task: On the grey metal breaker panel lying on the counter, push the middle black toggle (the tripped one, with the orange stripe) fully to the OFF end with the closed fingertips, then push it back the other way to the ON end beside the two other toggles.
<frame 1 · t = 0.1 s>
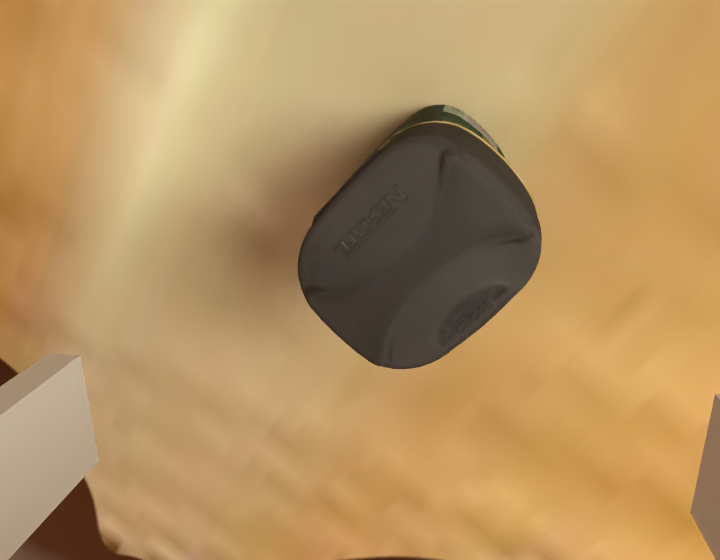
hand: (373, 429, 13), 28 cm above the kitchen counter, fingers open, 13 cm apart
coffee jar: (430, 181, 39), on the kitchen counter
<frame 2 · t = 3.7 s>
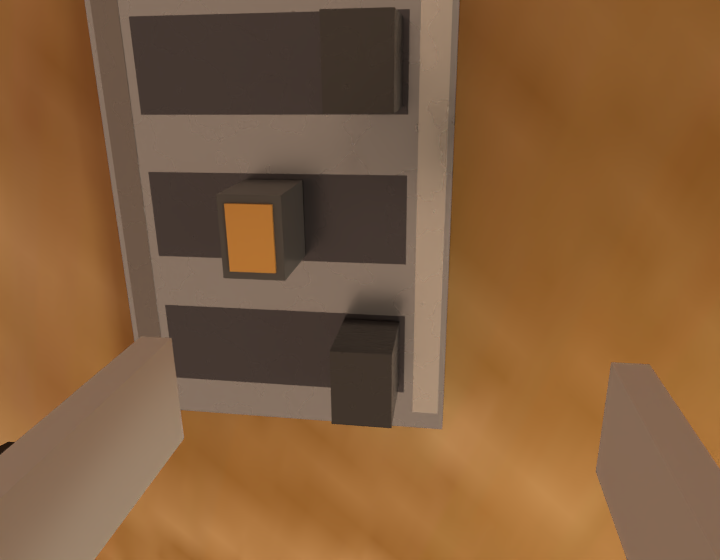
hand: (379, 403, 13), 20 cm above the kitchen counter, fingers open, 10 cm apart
tripped breaker: (263, 227, 29), point 4 cm above the kitchen counter, slide at 0.0 cm
breaker panel: (286, 209, 33), on the kitchen counter
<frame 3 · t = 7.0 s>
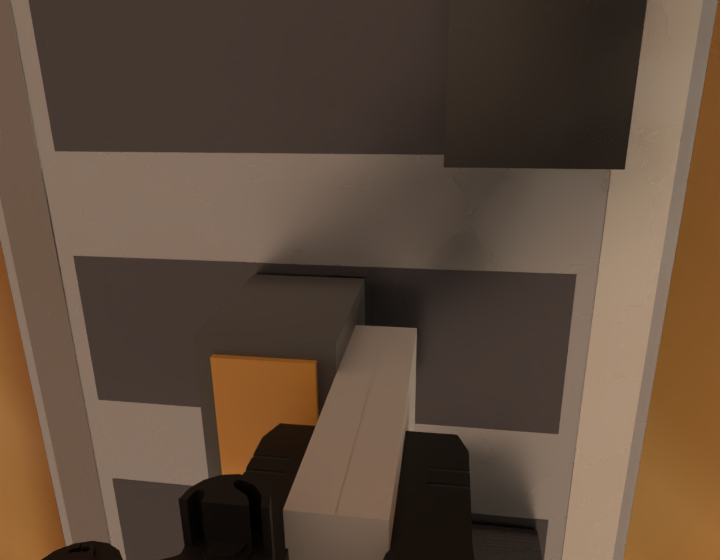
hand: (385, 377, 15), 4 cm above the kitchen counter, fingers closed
tripped breaker: (292, 381, 14), point 4 cm above the kitchen counter, slide at 0.0 cm, touching gripper
breaker panel: (326, 316, 18), on the kitchen counter
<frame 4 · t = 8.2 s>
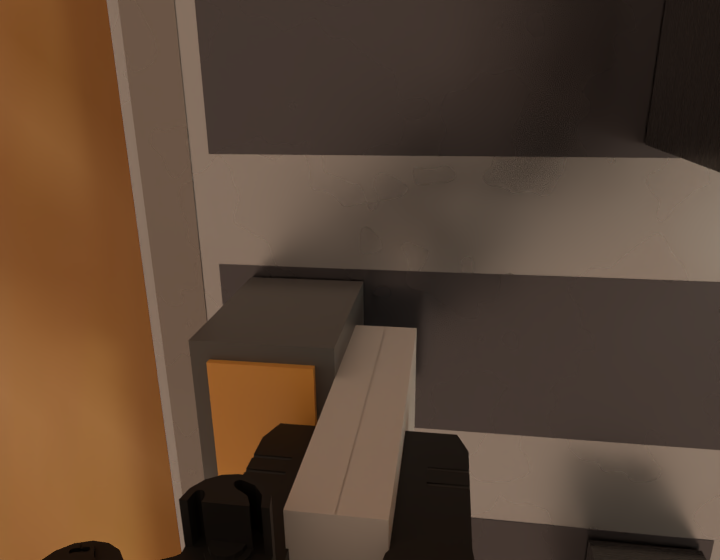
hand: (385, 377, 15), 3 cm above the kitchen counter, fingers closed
tripped breaker: (289, 386, 14), point 4 cm above the kitchen counter, slide at -4.4 cm, touching gripper
breaker panel: (471, 326, 18), on the kitchen counter
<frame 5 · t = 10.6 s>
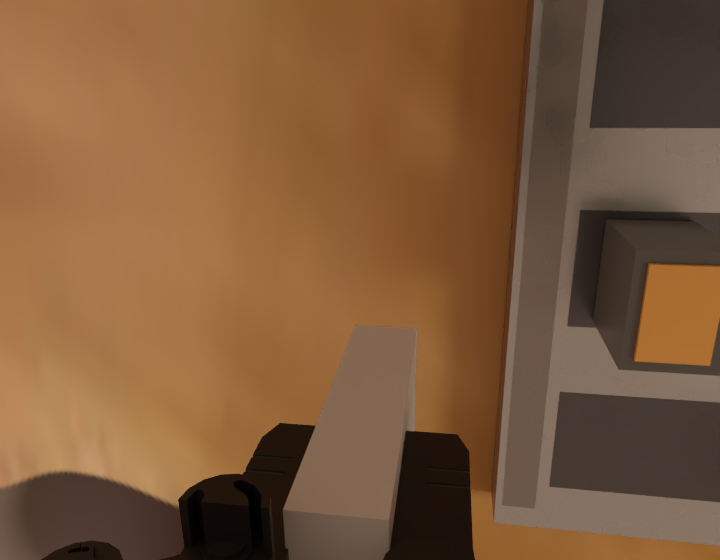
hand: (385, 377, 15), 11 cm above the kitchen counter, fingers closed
tripped breaker: (659, 292, 20), point 4 cm above the kitchen counter, slide at -4.4 cm
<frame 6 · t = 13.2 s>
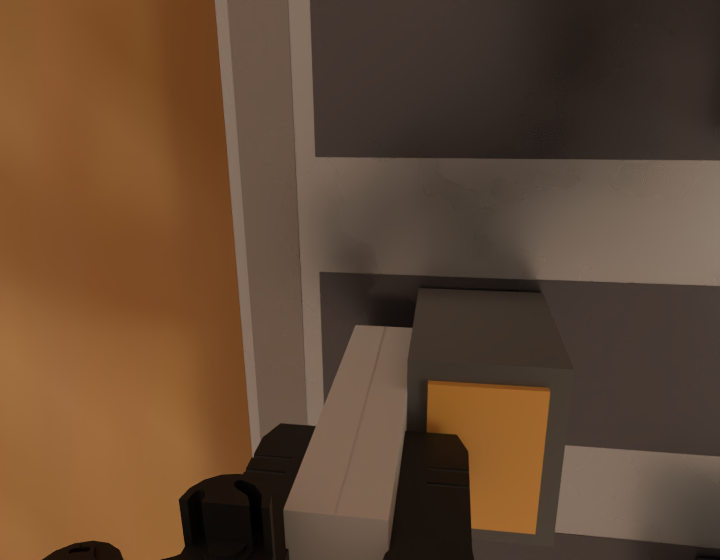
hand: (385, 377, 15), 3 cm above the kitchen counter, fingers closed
tripped breaker: (478, 405, 13), point 4 cm above the kitchen counter, slide at -2.7 cm, touching gripper
breaker panel: (571, 335, 17), on the kitchen counter
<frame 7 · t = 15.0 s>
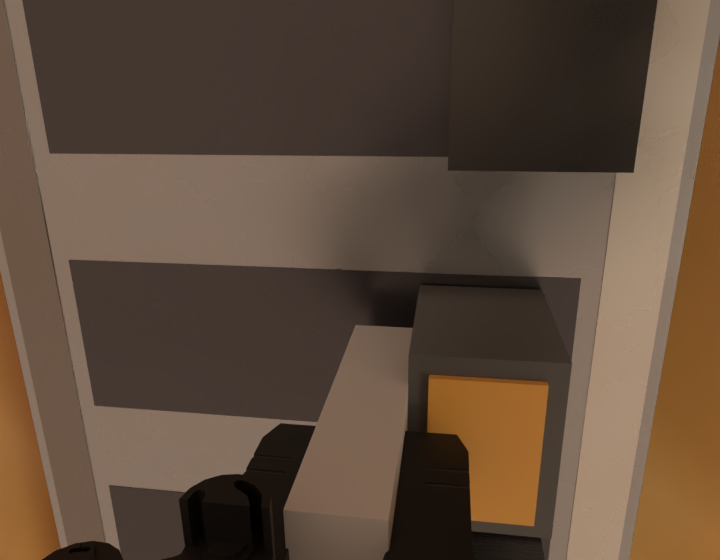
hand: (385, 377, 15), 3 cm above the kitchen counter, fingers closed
tripped breaker: (478, 400, 14), point 4 cm above the kitchen counter, slide at 4.4 cm, touching gripper
breaker panel: (326, 320, 18), on the kitchen counter
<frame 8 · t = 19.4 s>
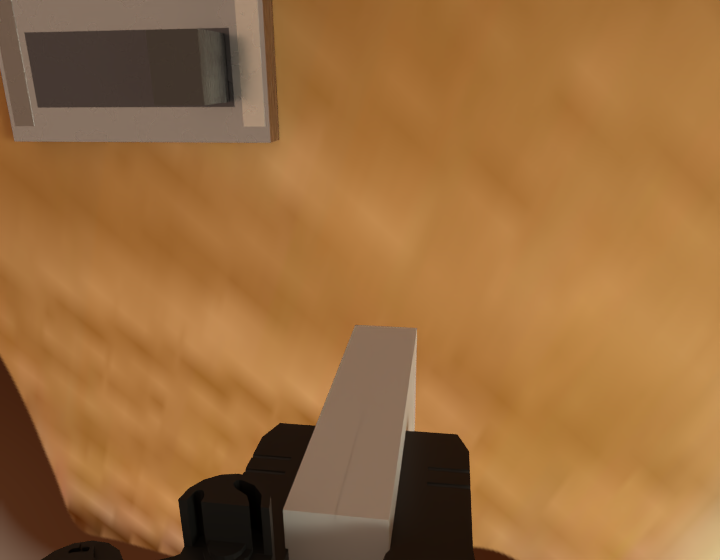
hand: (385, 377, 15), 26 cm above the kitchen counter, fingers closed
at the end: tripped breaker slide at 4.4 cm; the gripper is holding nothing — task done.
